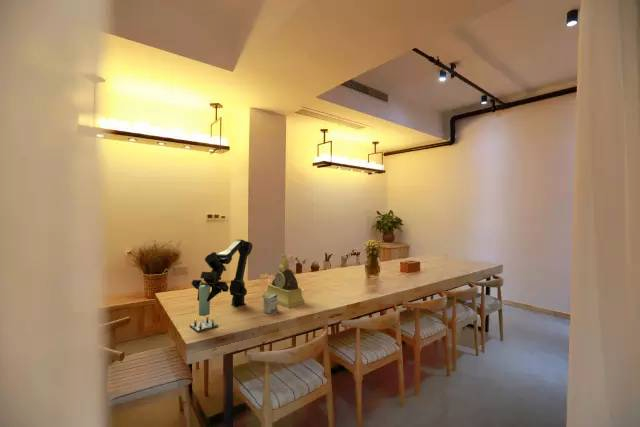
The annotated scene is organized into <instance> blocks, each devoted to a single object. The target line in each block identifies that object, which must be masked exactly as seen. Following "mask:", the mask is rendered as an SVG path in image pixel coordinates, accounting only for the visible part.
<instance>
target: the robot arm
mask: <svg viewBox="0 0 640 427" xmlns="http://www.w3.org/2000/svg"><path fill="white" fill-rule="evenodd" d="M251 242H252V241H251ZM251 242H250V241H247V240H244V239H241V238H240V239H235V240H234V242H232V244H230V245H229V247H228V248H227V249H225V250H223V251H220V252H218V253H217V252H215V251H212V252H211V253H209V254H208V255H207V256H205V257H204V261H205V263H206V264H207V266H208V267H209V268H210V269H211V270H210V271H201V274H200V277H199V278H200V279H196V278H195V279H193V280H192V281H191V285H192V286H193V287H194V289H196V290H197V299H196V301H198V302H199V286H201V285H210V288H211V289H210V294H209V296H208V299H207V302H209V301H210V302H211V300H212V299H213V298H215V297H216V296H217V295H219V294H220V293H222V292H223V293H224V292H225V293H228V291H229V293H230V296H232V298H231V305H232V306H234V307H235V308H238V307H241V306H246V305H247V304H246V303H245V296H247V295H248V294H247V293H248V290H247V288H246V286H245V285H246V283H245V281H244V275H245V272H246V271H245V270H246V267H247V266H246V265H247V261H248V257H249V255H250V254H252V253H251V252H252V251H253V250H252V249H253V243H251ZM236 252H238V254H239V256H238V261H237V265H236V271H235V277H234V278H233V279H232V280H231V281H230V285H229V284H227V282H226V281H221V280H222V275H223V272H226V271H227V267H226V265H229V264H230V263H231V261H232V260H233V256H234V255H235V254H236ZM201 279H203V281H204V282H203V281H202V280H201Z"/></svg>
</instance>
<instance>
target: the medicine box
mask: <svg viewBox="0 0 640 427" xmlns="http://www.w3.org/2000/svg"><path fill="white" fill-rule="evenodd" d="M277 309H278V304H277V295H275V294H271V295H269V296H267V297H265V298H263V313H264V314H271V313H273V312H275V311H276V310H277Z"/></svg>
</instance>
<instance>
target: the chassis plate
mask: <svg viewBox="0 0 640 427" xmlns="http://www.w3.org/2000/svg"><path fill="white" fill-rule="evenodd" d="M209 316H210V315H206V316H205V317H206V319H203V320H202V321H198V322H197V319H196V318H195V319H193V322H194V323H190V324H189V327H190V328H191V329H192V330H194V331H195V332H196V333H197V334H198V333H199V334H200V333H202V332H204V331H208V330H212V329H215V328H218V327H219V324H218V323H217V322H215V321H214V320H215V319H210V318H209Z"/></svg>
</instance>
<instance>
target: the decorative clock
mask: <svg viewBox="0 0 640 427" xmlns="http://www.w3.org/2000/svg"><path fill="white" fill-rule="evenodd" d="M281 258H282V261H281V262H282V263H281V264H279V265H278V270H279V271H278V272H276V273H275V275H274V278H273V280H272V281H271V284H267V290H266V291H265V292H263V294H262V296H261V297H262V298H263V299H264V298H265V297H267V296H269V295H271V294H275V295H277V305H280V306H282V307H283V308H287V309H291V308H294V307H298V306H300V305H304V304H305V300H304V297H303V294H302V288H301V287H299V284H298V281H297V278H296V275H295V274H294V272H293V270H291V269H289V266H290V264H289V260H288V258H287V255H286V254H285V253H283V254H281Z"/></svg>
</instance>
